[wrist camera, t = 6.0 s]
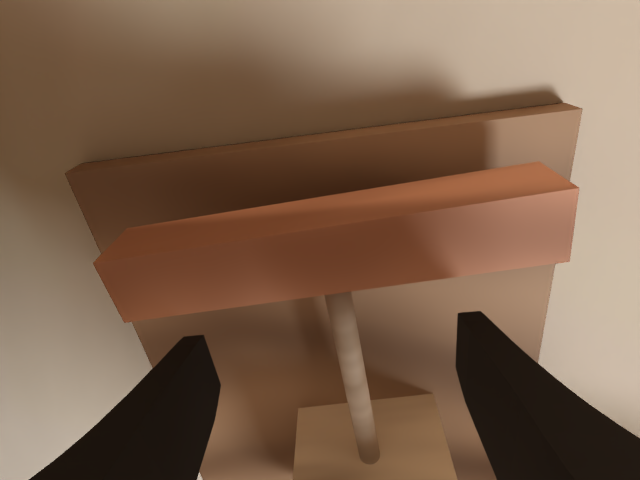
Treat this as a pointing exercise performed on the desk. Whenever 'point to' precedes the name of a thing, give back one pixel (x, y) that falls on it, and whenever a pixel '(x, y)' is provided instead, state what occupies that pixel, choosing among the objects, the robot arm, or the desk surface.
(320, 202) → the block
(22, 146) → the desk surface
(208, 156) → the lane board
